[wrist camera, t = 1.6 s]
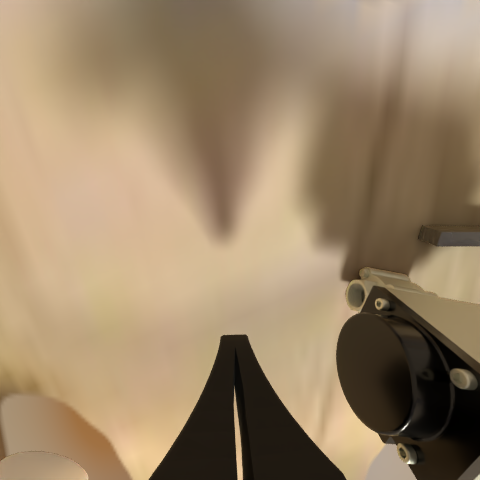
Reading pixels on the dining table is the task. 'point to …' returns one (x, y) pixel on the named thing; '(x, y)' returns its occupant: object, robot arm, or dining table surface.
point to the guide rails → (451, 235)
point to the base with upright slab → (40, 467)
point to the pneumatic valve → (414, 372)
